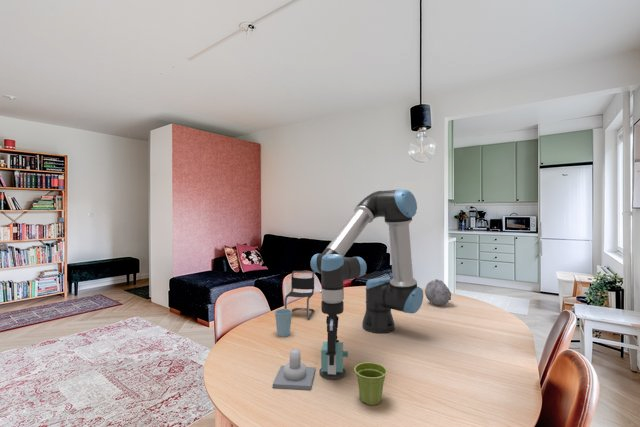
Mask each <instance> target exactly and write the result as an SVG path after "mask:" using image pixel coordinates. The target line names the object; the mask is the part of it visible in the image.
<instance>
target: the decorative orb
mask: <svg viewBox="0 0 640 427" xmlns="http://www.w3.org/2000/svg"><path fill="white" fill-rule="evenodd" d="M424 288H425V289H424V294H425V298H426V299H427V300H428V301H429V303H431V304H433V305H435V306H444V305H446V304H448V303H449V301H452V300H451V299H452V292H451V290H450V289H449V288H448V286H447V284H445V282H444V281H443V280H440V279H438V278H437V279H435V280H434V279H433V280H431V281H429V282H428V283H427V284H426V286H425V287H424Z"/></svg>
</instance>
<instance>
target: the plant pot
mask: <svg viewBox="0 0 640 427" xmlns="http://www.w3.org/2000/svg"><path fill="white" fill-rule="evenodd" d="M353 370H354V373H355V376H356V378H357V385H358V390H359V391H358V392H359V398H360V401H361V402H362V403H365V404H366V405H368V406H376V405H378V404H380V403H381V402H382V398H383V390H384V383H385V379H386V378H385V377H386V375H387V373H388V370H387V368H386V367H385V366H384V365H382V364H380V363H376V362H367V361H366V362H361V363H358V364H356V365H355V366H354V369H353Z"/></svg>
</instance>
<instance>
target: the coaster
mask: <svg viewBox="0 0 640 427" xmlns="http://www.w3.org/2000/svg"><path fill="white" fill-rule="evenodd" d="M318 373H319V376H320V377H321V378H322V379H325V380H330V381H336V380H338V381H339V380H340V379H343V378H345V377H346V373H347V371H346V369H345V368H344V367H343V372H336V374H328V372H325V371H321V368H320V369H319V372H318Z"/></svg>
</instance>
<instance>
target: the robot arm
mask: <svg viewBox="0 0 640 427" xmlns="http://www.w3.org/2000/svg"><path fill="white" fill-rule="evenodd" d="M417 204H418V203H417V199H416V197H415V195H414V194H413V192H411V191H410V190H408V189H398V188H397V189H391V190H377V191H373V192H372V193H370V194H369V195H367V196H366V197H364V198H363V199H362V200H361V201H360V202H359V203H357V205H356V206H355V208H354V209H353V210H354V211H353V214H351V216H350V217H349V219H348V220H347V221H346V222H345V224H344V225H343V226H342V228H341V229H339V232H337V234H336V235H335V236H334V238H333V239H332V240H331V241H330V242H329V244H328V245H327V246H326V248H325V249H324V250H323V251H322V253H316V254H314V255H313V256H312V257H311V260H310V263H309V264H310V268H311V270H312V271H314V272H315V273H318V274H320V275H321V276H320V277H321V289H320V290H319V293H320V294H321V312H322V314H325V315H327V316H326V319H325V320H326V321H325V322H326V332H327V341H326V342H327V353H326V355H328V374H336V352H335V349H336V342H340V340H338V327H339V316H338V315H341V314H343V313H344V293H345V291H344V282H345V281H348V280H353V279H358V278H361V277H363V276H364V275H365V274H366V272H367V269H368V268H367V267H368V266H367V263H366V260H364V259H363V258H362V257H360V256H352V257H347V256H345V255H346V253H347V252H348V251H349V250H350V249H351V247H352V246H353V244H354V243H355V242H356V240H357V239H358V237H359V236H360V235H361V234H362V232H363V230H365V228H366V227H367V225H368V224H369V223H372V222H373V221H374V220H375V219H377V218H384V223H385V224H387V226H388V231H389V232H388V234H389V235H388V236H389V245H390V246H389V248H390V257H391V258H390V259H391V271H392V279H391V278H389V277H378V278H377V277H376V278H371V279H368V280H367V281H366V282H365V284H366V285H365V313H364V316H363V319H362V322H361V323H362V328H363V329H364V330H365V331H367V332H371V333H376V334H387V333H390V332H391V333H392V332H393V331H394V330H395V329H396V328H395V327H396V323H395V320H394V317H393V314H392V310H394V311H397V312H402V313H406V314H410V315H411V314H415V313H417V312H419V310H420V309H421V306H422V304H423V302H424V291H423V288H421V287H420V286H418V281H417V279H416V278H414V276H413V275H414V273H413V272H414V271H413V263H412V262H413V259H412V258H413V257H412V249H411V246H412V245H411V234H410V224H411V223H412V221H413V217H414V216H416V214H417V210H418V205H417Z"/></svg>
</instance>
